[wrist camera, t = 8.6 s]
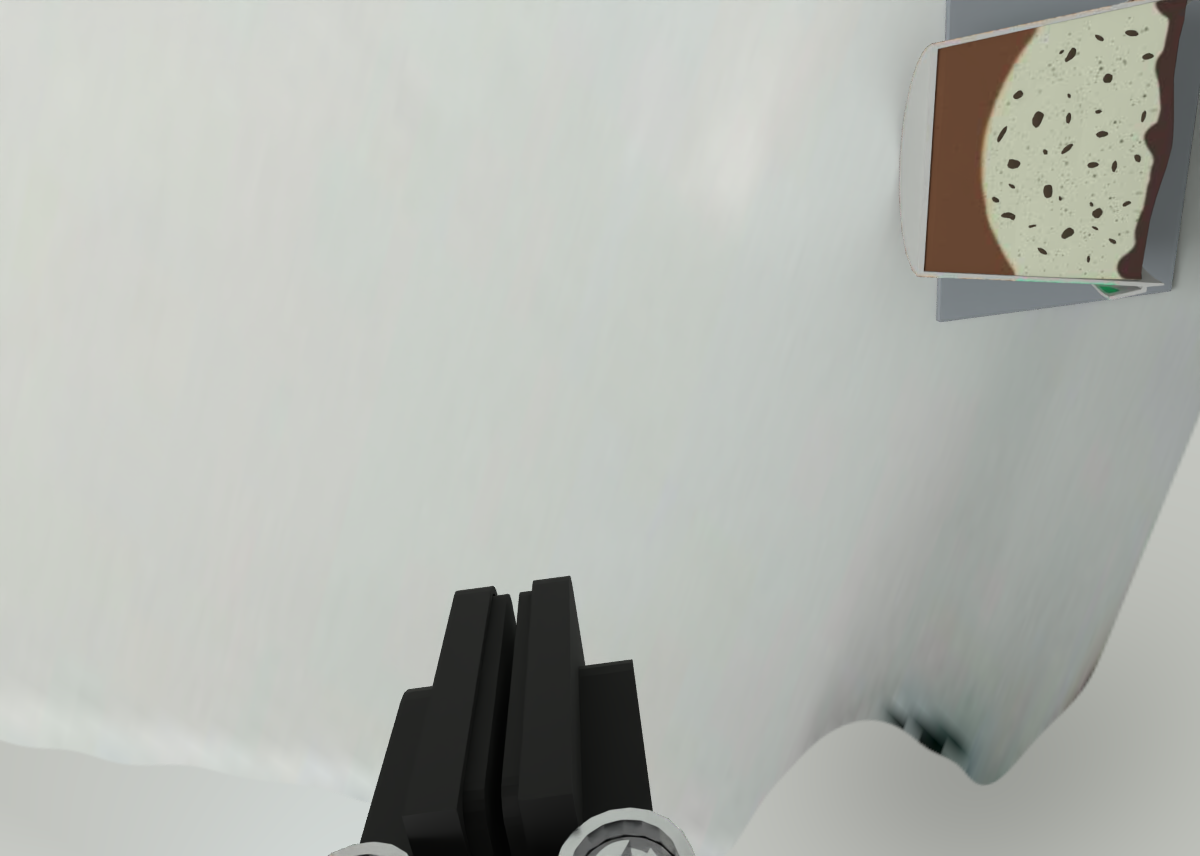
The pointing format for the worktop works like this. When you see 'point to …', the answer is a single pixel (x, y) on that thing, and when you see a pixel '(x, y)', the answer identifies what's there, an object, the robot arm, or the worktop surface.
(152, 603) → the worktop surface
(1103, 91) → the food container
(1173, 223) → the mat
